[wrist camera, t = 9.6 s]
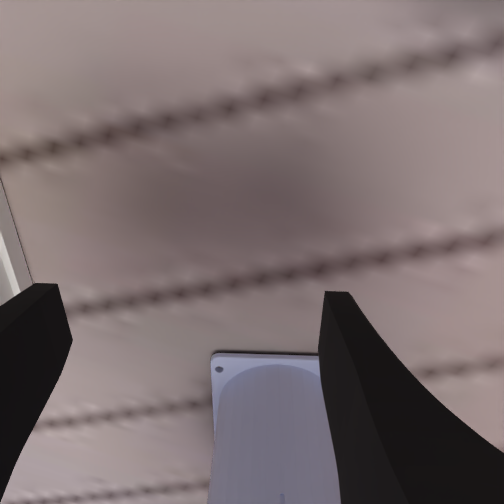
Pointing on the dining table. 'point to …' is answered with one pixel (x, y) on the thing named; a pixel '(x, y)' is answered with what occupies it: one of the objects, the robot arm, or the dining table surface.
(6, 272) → the ledge
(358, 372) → the robot arm
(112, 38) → the dining table surface
